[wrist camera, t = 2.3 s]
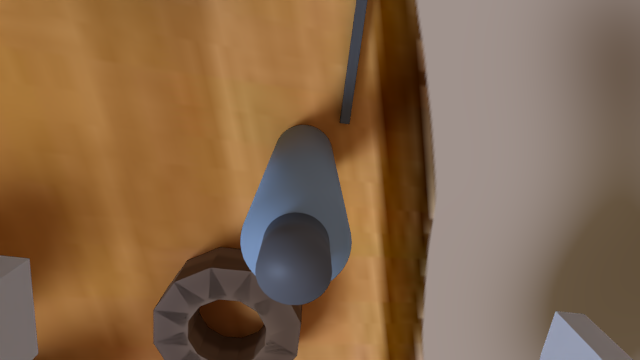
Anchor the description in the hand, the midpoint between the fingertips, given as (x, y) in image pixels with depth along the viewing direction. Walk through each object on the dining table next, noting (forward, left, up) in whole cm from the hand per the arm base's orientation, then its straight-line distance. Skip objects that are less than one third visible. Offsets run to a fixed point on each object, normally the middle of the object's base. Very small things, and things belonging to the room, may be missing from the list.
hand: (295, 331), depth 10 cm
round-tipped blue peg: (0, 0, -19) cm, 19 cm away
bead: (+13, -4, -19) cm, 23 cm away
